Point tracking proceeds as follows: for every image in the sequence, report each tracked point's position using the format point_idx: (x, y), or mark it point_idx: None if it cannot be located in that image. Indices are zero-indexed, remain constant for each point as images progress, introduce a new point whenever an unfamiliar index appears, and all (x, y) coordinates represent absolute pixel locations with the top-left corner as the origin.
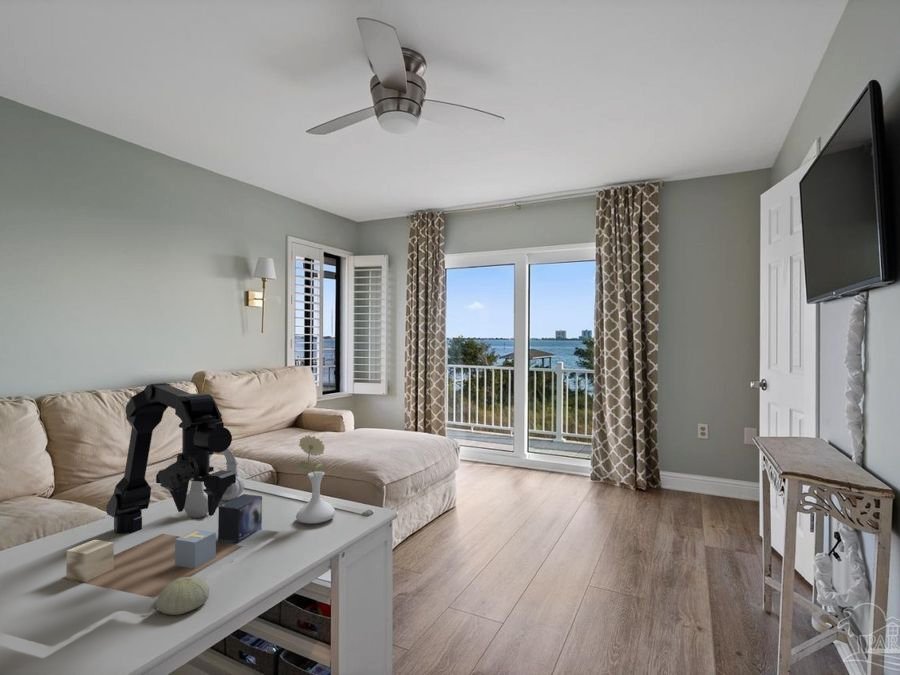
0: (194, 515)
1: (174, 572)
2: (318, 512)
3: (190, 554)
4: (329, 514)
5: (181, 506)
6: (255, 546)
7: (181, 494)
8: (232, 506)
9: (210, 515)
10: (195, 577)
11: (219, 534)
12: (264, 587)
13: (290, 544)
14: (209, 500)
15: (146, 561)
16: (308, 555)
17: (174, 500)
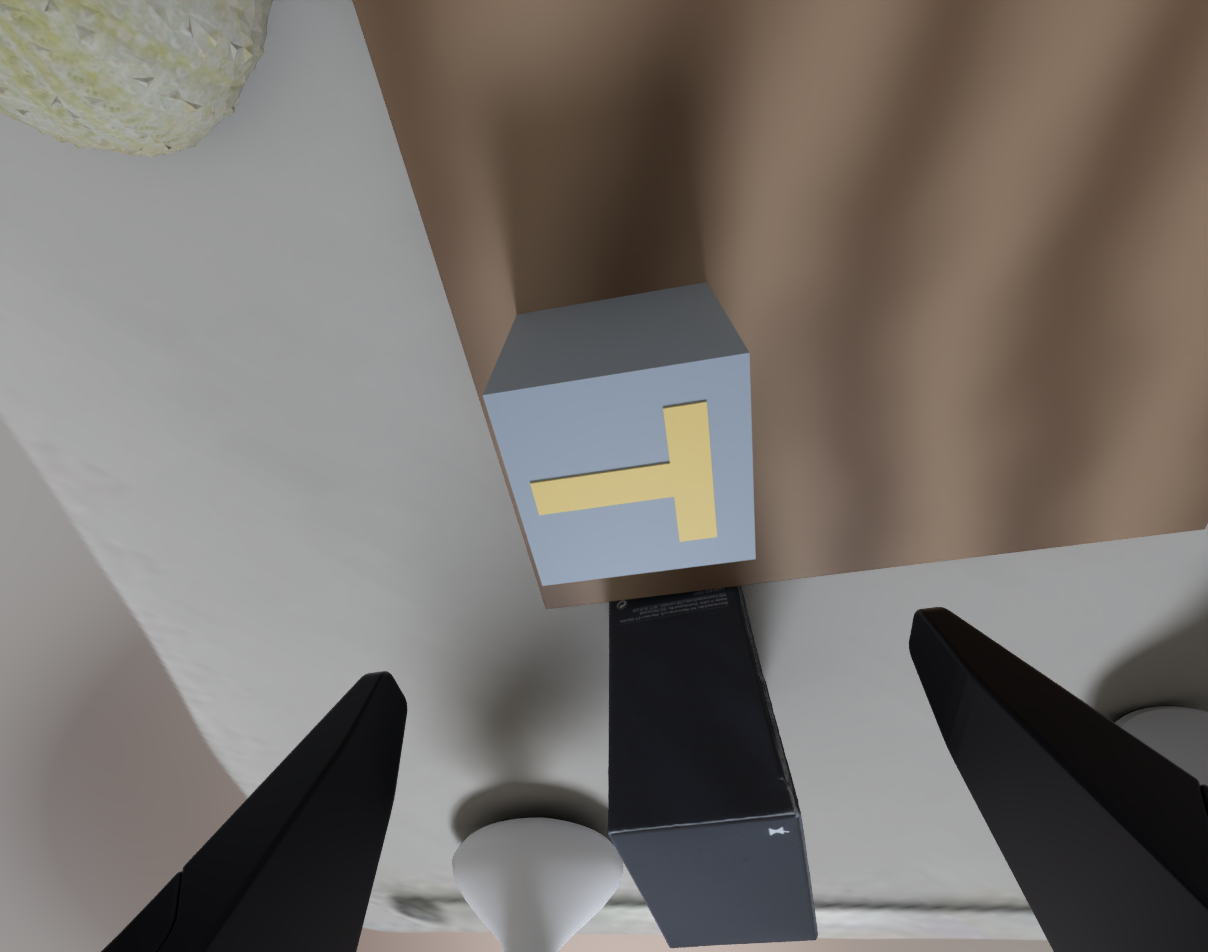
0: (1162, 718)
1: (599, 204)
2: (476, 884)
3: (552, 341)
4: (455, 881)
5: (948, 690)
6: (542, 636)
7: (1107, 925)
8: (682, 838)
9: (365, 678)
10: (8, 51)
11: (734, 626)
12: (8, 387)
13: (412, 698)
14: (175, 932)
15: (989, 216)
16: (230, 666)
17: (1137, 753)
